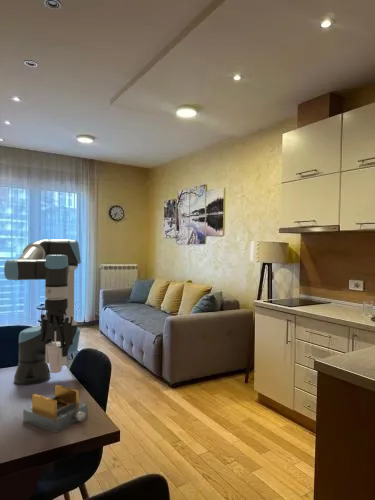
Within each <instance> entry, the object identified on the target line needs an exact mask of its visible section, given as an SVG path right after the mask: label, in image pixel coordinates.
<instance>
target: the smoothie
mask: <svg viewBox="0 0 375 500" xmlns="http://www.w3.org/2000/svg"><path fill="white" fill-rule="evenodd" d="M60 347H61V343H60V342H56V331H55V339H54V342H51V343H48V344H47V347H46V348H47V349H48V357H49V363H48V366H49V370H50V374H51V373H52V374H58V373H61V372H62V368H63V366H61V367H60V366H59V348H60Z"/></svg>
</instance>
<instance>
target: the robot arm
mask: <svg viewBox="0 0 375 500" xmlns="http://www.w3.org/2000/svg"><path fill="white" fill-rule="evenodd" d="M81 260H82V259H81V253H80V245H79V241H78V240H75V239H69V238H68V239H49V238H48V239H40V240H36V241H33V242H31V243H29V244H28V245H26V246H25V247H24V248H23V250H22V254H21V255H20V256H19V257H18V258H17V259H7V260H6V261H5V262H4V267H3V268H4V269H3V270H4V271H3V272H4V278H5V279H6V280H8V281H31V280H35V281H37V280H38V281H39V280H40V281H41V280H45V281H44V282H45V283H44V284H45V285H44V287H45V289H44V290H45V291H44V293H45V295H44V296H45V300H44V309H45V310H46V313H42V314H40V320H41V323H40V325H38V326H32V327H28V328H24V329H23V330H21V331H20V332H19V335H18V342H17V343H18V363H17V367H16V371H15V374H14V378H13V382H14V383H15V384H17V385H25V386H26V385H34V384H35V385H36V384H39V383H43V382H46V381H47V380H49V379H50V378H51V372H50V366H49V357H48V349H47V348H46V347H47V344H48V343H51V342H54V339H55V331H56V342H60V343H61V347H60V348H59V366H60V367H61V366H62V367H64V366H67V365H68V356H69V355H70V354H75V353H76V352H77V351H78V348H79V342H80V335H81V327H78V323H77V322H76V321H75V277H76V276H75V273H76V272H75V271H76V270H77V269H78V268H79V265H81V264H82V261H81Z"/></svg>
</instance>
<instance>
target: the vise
mask: <svg viewBox="0 0 375 500" xmlns="http://www.w3.org/2000/svg"><path fill="white" fill-rule="evenodd" d="M79 395H80V391H79V390H78V389H75V388H71V387H67V386H63V385H60V384H56V385H55V386H54V396H52V397H47V396H43V395H39V394H37V393H34V394H32V395H31V396H32V397H31V398H32V399H31V401H32V402H31V406H29V407H26V408H25V409H24V408H23V415H22V416H23V422H24V423H27V424H30V425H32V426H35V427H38V428H41V429H42V430H47V431H48V432H51V433H55V434H56V433H58V432H60V431H61V430H64V429H65V428H67V427H70V426H71V425H73V424H74V423H76V422H80V423H82V422H84V421H85V420H86V418H87V416H88V404H87V403H84V402H80V400H79V399H80V396H79Z"/></svg>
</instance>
